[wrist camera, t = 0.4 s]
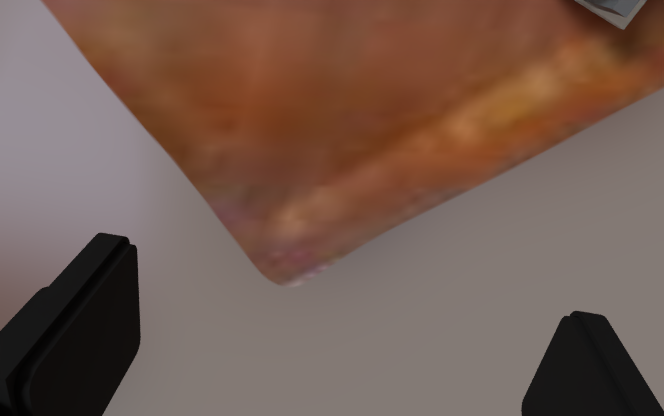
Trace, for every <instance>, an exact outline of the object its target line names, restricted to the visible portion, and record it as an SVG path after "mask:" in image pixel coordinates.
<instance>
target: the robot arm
mask: <svg viewBox="0 0 664 416" xmlns="http://www.w3.org/2000/svg"><path fill="white" fill-rule="evenodd" d="M140 337H141V336H140V312H139V287H138V261H137V248H136V246H135V245H132V244H130V242H129V239H128V238H127V237H124V236H118V235H112V234H106V233H98V234H97V235H96V236H95V237H94V238H93V239H92V240H91V241H90V242H89V243H88V244H87V245H86V247H85V248H84V249H83V250H82V251H81V252H80V253H79V254H78V255H77V256H76V257H75V258H74V260H73V261H72V262H71V263H70V264H69V265H68V266H67V267H66V268H65V269H64V270H63V272H62V273H61V274H60V275H59V276H58V277H57V278H56V279H55V280H54V281H53V282H52V284H50V286H49V287H44V288H42V289H40V290H39V291H38V292H37V293H36V294H35V295H34V296H33V297H32V298H31V299H30V300H29V301H28V302H27V303H26V304H25V305H24V306H23V308H22V309H21V310H20V311H19V312H18V313H17V314H16V315H15V316H14V317H13V318H12V319H11V320H10V321H9V322H8V324H7V325H6V326H5V327H4V328H3V329H2V330H1V331H0V416H102V415H103V413H104V411H105V409H106V408H107V406H108V404H109V402H110V400H111V399H112V397H113V395H114V393H115V392H116V390H117V388H118V386H119V385H120V383H121V381H122V379H123V377H124V376H125V374H126V372H127V370H128V368H129V367H130V365H131V363H132V361H133V360H134V358H135V356H136V354H137V352H138V349H139V345H140ZM521 411H522V416H664V411H663V409H662V407H661V406H660V404H659V403H658V401H657V399H656V398H655V396H654V394H653V393H652V391H651V390H650V388H649V386H648V385H647V383H646V382H645V380H644V378H643V377H642V375H641V374H640V372H639V370H638V369H637V367H636V365H635V364H634V362H633V361H632V359H631V357H630V356H629V354H628V352H627V351H626V349H625V348H624V346H623V344H622V343H621V341H620V340H619V338H618V336H617V335H616V333H615V331H614V330H613V328H612V326H611V325H610V323H609V322H608V320H607V319H606V318H605V316H603V315H599V314H593V313H587V312H580V311H574V312H572V313H571V314H570V316H564V317H563V318H562V319H561V321H560V323H559V325H558V327H557V329H556V332H555V334H554V336H553V338H552V340H551V342H550V344H549V346H548V348H547V350H546V353H545V355H544V357H543V359H542V361H541V363H540V365H539V367H538V369H537V372H536V374H535V376H534V378H533V380H532V382H531V384H530V386H529V388H528V390H527V393H526V395H525V397H524V399H523V402H522V410H521Z"/></svg>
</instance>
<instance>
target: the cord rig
mask: <svg viewBox="0 0 664 416" xmlns="http://www.w3.org/2000/svg"><path fill="white" fill-rule="evenodd" d="M574 1H576V2H577V3H579V4H581V5H582V6H584V7H585V8H587V9H589V10H590V11H592V12H593V13H595V14H597V15H598V16H600V17H601V18H603V19H605V20H606V21H608V22H609V23H611V24H613V25H614V26H616V27H617V28H620V29H623V30H624V29H625V28H626V26H627V25H628V24H629V23H630V21H631V20H632V19H633V17H634V16H635V15H636V14H637V12H638V11H639V10H640V8H641V7H642V6H643V5H644V3H645V2H646V1H647V0H574Z"/></svg>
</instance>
